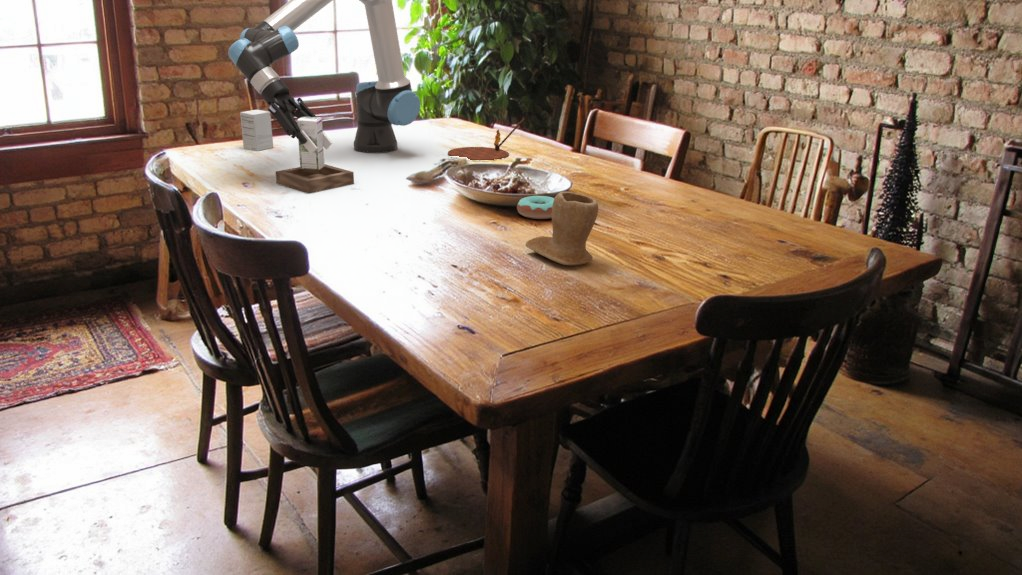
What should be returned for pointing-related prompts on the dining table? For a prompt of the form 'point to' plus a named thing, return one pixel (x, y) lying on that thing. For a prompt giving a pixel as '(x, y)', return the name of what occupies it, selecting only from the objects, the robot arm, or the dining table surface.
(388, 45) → the robot arm
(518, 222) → the dining table surface
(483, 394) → the dining table surface
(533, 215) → the donut
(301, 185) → the walnut tray
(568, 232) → the brown hollow piece
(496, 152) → the incense holder
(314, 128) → the syrup box
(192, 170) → the dining table surface
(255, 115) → the supplement box
